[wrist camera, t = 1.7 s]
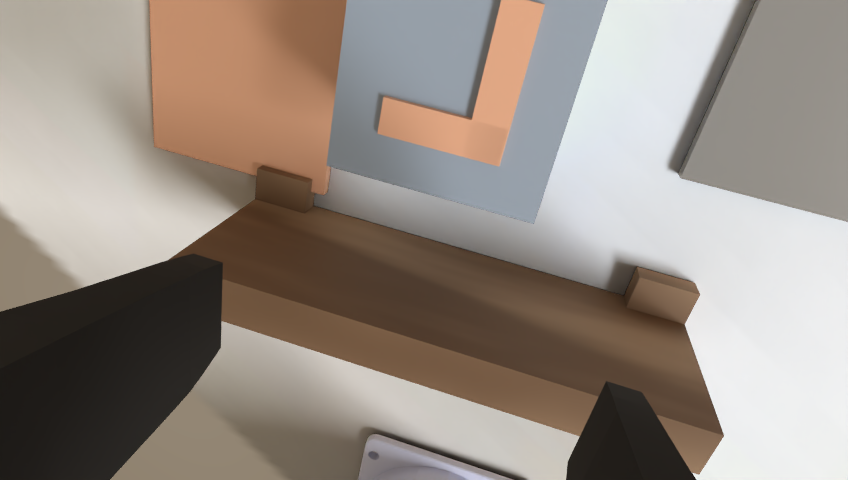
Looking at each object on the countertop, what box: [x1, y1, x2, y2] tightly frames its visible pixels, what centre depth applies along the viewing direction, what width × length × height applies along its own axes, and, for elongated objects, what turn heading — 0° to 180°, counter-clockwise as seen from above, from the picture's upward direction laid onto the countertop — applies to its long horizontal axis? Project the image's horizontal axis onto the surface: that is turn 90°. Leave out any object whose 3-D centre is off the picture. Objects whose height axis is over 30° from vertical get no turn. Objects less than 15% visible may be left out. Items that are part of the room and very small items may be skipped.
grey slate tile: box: [679, 0, 848, 222], centre depth 15 cm, size 6×6×1 cm
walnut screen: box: [169, 165, 724, 474], centre depth 18 cm, size 4×16×6 cm, turn 78°
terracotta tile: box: [149, 0, 347, 195], centre depth 19 cm, size 7×7×1 cm
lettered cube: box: [326, 0, 608, 224], centre depth 15 cm, size 6×6×6 cm
